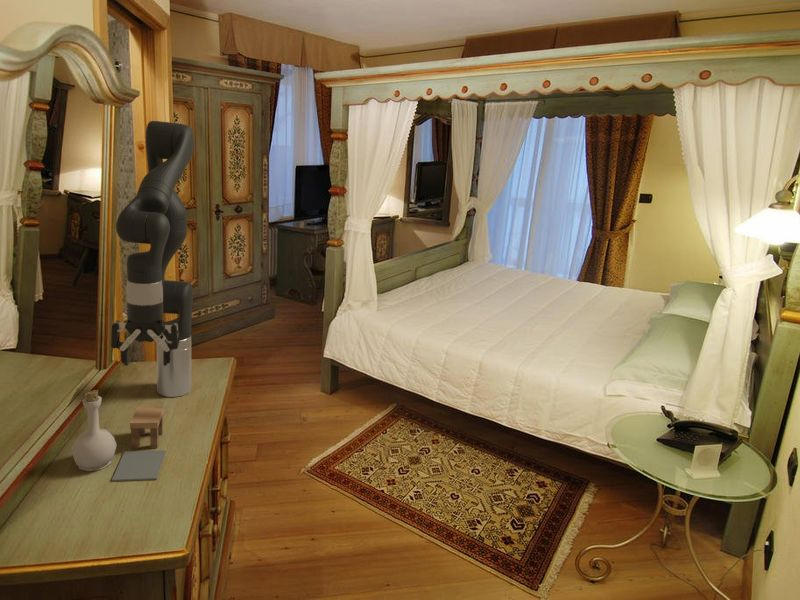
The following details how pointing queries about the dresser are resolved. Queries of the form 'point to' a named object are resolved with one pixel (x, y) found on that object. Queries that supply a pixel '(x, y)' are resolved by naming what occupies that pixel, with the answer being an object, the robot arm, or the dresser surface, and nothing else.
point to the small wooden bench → (146, 425)
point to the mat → (139, 465)
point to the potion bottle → (93, 439)
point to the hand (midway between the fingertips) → (146, 364)
